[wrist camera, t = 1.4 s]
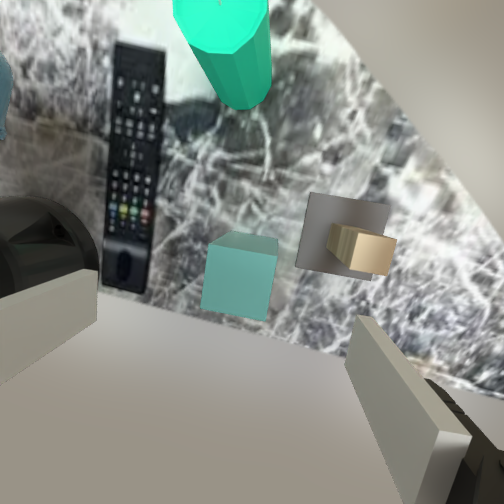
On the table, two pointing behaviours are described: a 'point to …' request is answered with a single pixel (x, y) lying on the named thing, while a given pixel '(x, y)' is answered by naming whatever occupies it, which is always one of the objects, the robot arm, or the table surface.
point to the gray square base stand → (345, 237)
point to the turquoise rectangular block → (240, 275)
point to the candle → (230, 46)
